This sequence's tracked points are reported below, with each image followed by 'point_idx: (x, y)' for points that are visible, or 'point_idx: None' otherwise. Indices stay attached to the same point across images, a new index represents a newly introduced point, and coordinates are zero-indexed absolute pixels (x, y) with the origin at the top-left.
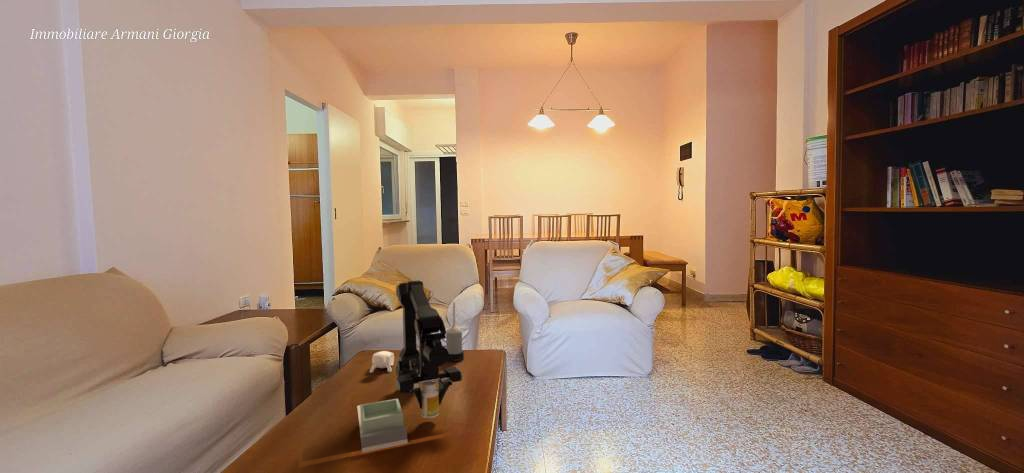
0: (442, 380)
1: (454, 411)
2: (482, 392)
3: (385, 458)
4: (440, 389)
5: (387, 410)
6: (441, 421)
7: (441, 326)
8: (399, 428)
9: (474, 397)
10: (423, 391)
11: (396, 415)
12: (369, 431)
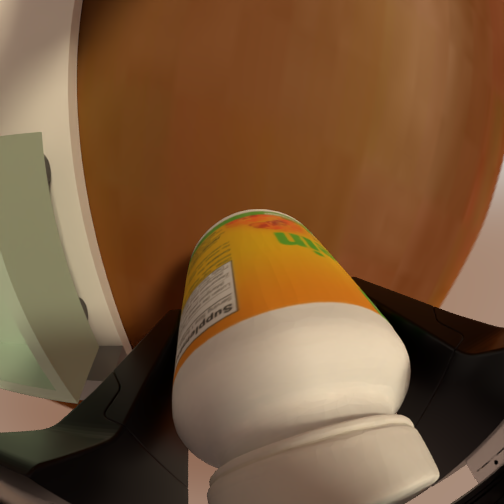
0: (482, 472)
1: (400, 130)
2: (497, 41)
3: None
4: (421, 404)
5: None
6: (314, 218)
7: None
8: (90, 392)
9: (479, 55)
10: (213, 462)
11: (49, 396)
12: None
